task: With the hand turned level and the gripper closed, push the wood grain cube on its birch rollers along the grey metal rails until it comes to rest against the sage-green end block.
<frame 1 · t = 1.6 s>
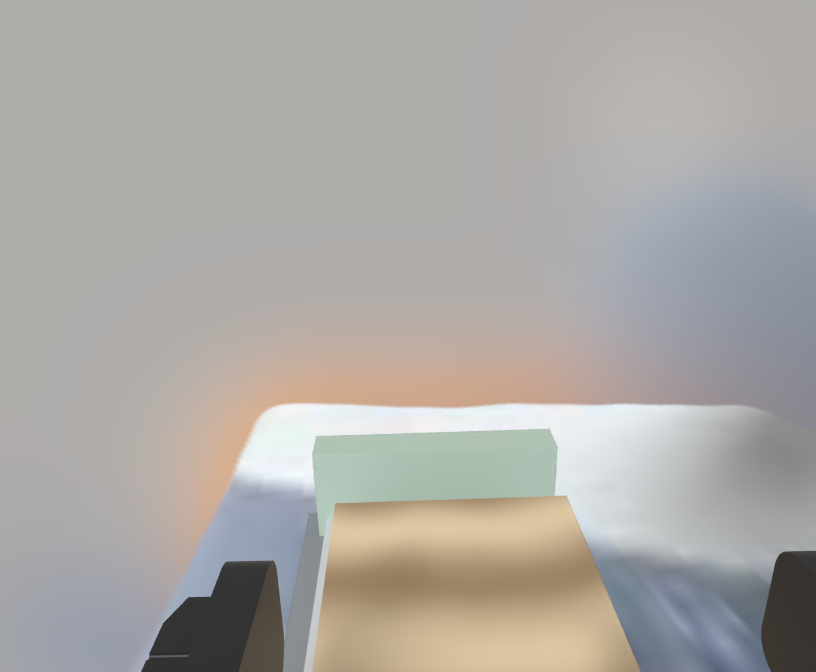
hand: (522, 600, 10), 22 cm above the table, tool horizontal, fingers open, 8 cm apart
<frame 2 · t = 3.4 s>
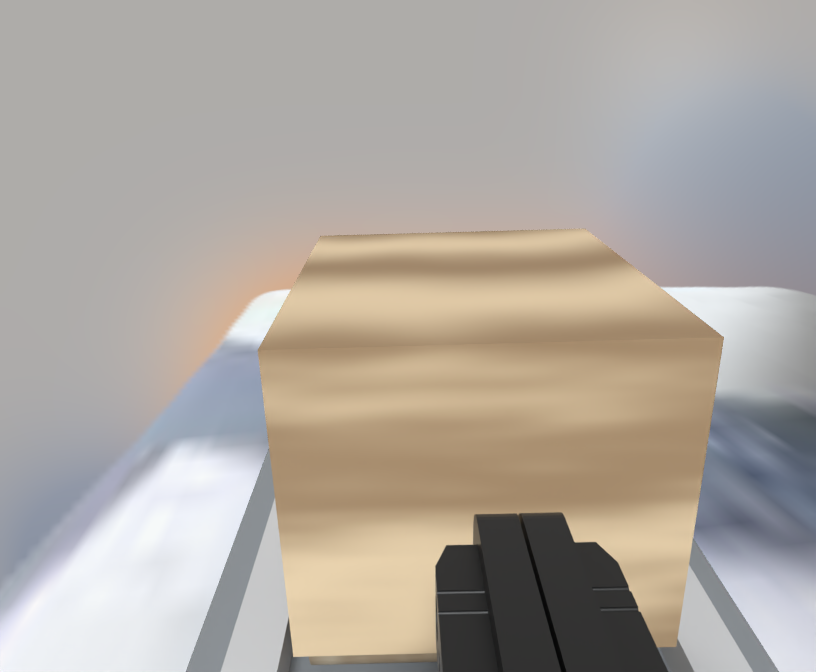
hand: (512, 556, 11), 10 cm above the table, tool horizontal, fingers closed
roller track: (464, 594, 25), on the table
wood grain cube: (465, 430, 22), point 7 cm above the table, slide at 0.0 cm
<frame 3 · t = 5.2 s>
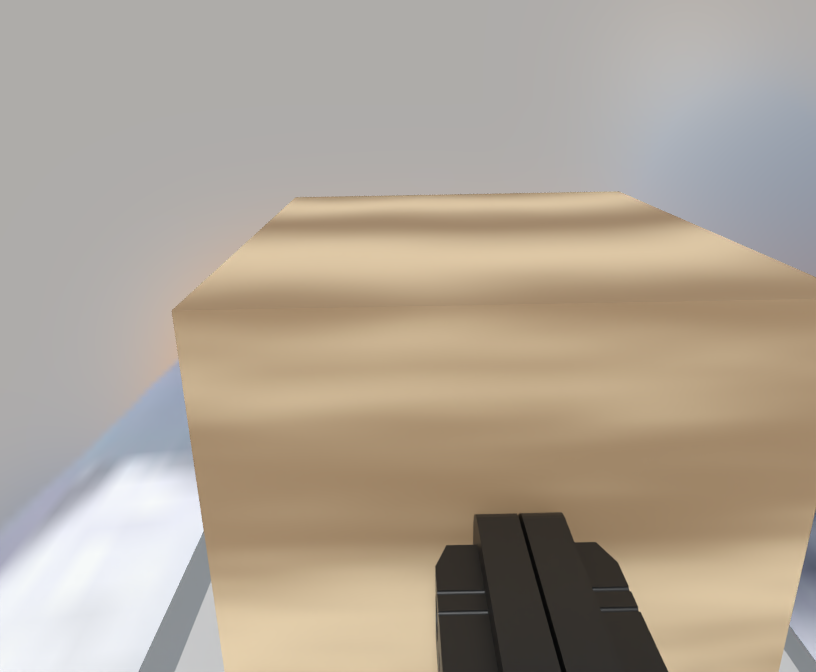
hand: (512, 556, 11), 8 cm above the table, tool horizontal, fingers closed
roller track: (471, 666, 19), on the table
wood grain cube: (472, 436, 17), point 7 cm above the table, slide at 0.9 cm, touching gripper
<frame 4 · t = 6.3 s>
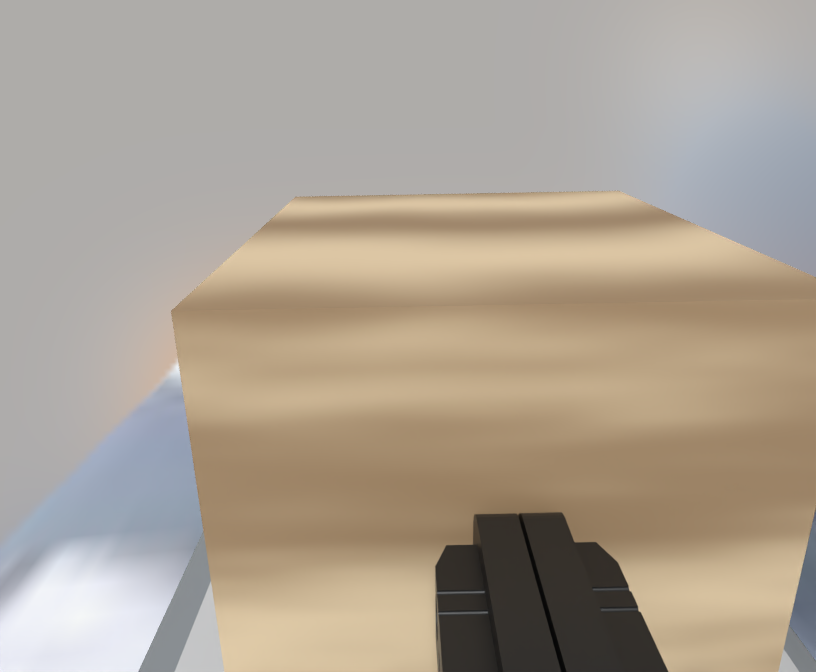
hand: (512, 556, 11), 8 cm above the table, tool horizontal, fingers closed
wood grain cube: (472, 436, 17), point 7 cm above the table, slide at 7.2 cm, touching gripper
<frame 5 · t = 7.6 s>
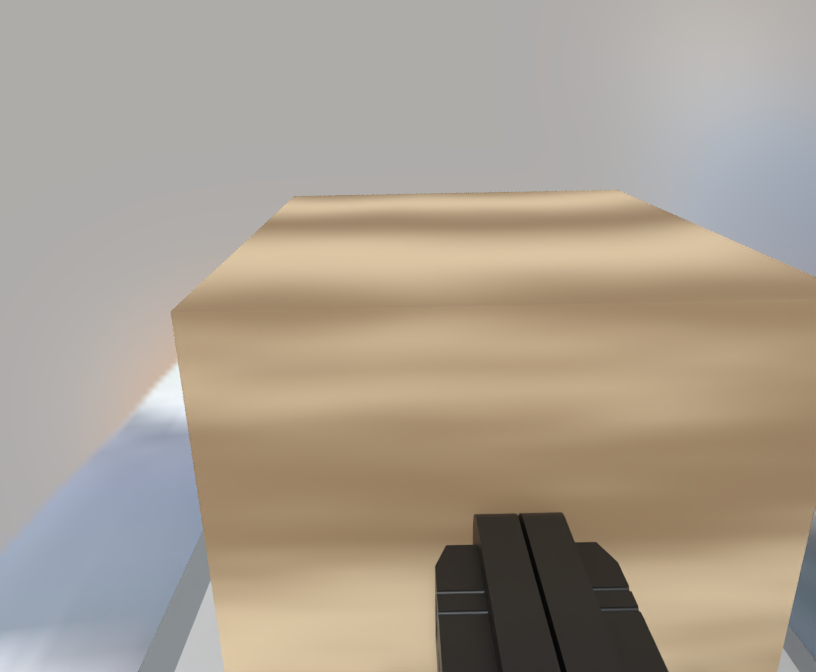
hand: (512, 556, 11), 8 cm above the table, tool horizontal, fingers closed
wood grain cube: (471, 435, 17), point 7 cm above the table, slide at 11.9 cm, touching gripper
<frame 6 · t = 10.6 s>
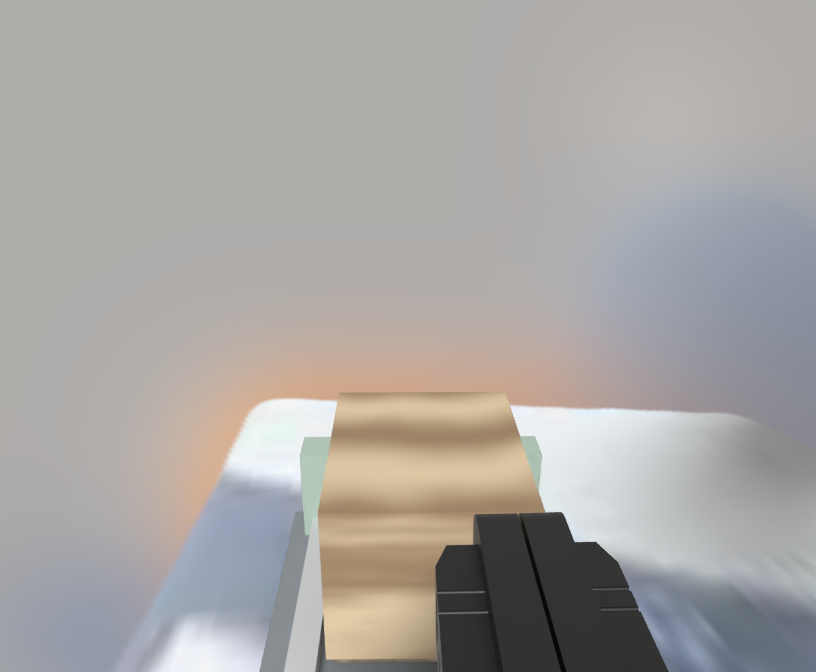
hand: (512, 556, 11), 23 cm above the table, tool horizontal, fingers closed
wood grain cube: (424, 526, 38), point 7 cm above the table, slide at 11.9 cm
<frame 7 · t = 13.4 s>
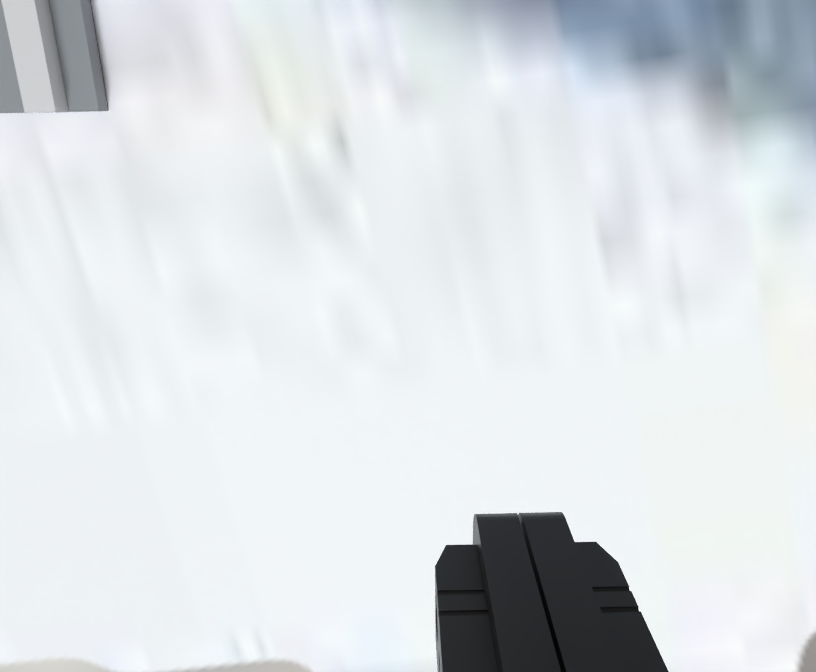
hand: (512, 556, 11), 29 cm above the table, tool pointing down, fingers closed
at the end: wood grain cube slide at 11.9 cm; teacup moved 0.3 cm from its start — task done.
